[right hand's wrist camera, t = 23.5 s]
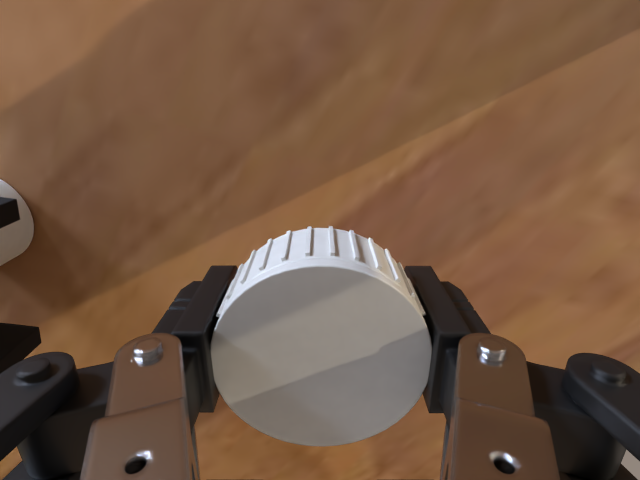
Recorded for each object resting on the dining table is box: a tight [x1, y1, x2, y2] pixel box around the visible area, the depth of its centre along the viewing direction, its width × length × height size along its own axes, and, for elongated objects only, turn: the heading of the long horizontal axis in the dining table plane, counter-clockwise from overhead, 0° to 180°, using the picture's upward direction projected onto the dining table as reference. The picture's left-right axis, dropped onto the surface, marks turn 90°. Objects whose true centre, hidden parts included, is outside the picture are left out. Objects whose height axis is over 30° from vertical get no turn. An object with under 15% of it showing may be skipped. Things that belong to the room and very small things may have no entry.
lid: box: [210, 226, 432, 446], centre depth 10 cm, size 5×5×2 cm
